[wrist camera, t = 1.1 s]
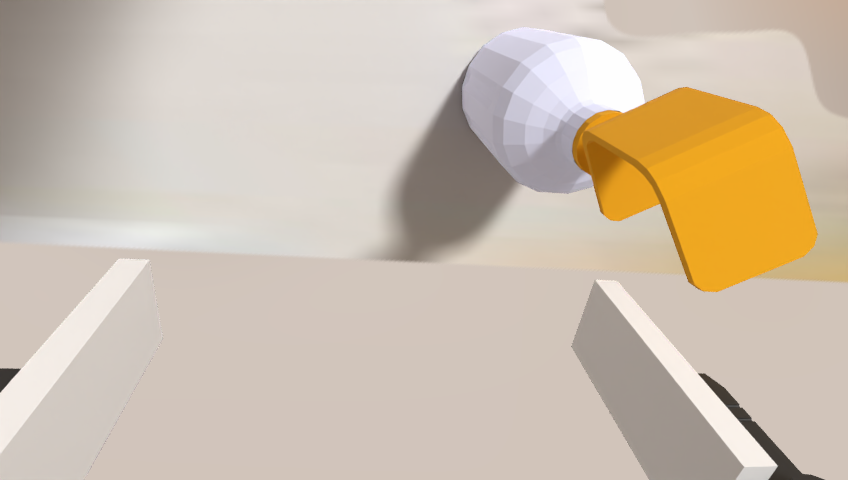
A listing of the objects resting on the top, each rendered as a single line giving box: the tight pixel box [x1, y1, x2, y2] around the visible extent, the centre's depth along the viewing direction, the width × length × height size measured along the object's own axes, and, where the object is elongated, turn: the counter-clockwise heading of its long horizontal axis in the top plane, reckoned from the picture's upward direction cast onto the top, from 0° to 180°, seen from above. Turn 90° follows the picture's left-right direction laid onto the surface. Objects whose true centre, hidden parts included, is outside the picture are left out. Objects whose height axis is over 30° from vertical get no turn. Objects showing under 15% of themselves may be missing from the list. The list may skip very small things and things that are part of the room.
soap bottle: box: [462, 27, 817, 292], centre depth 25 cm, size 9×9×25 cm
